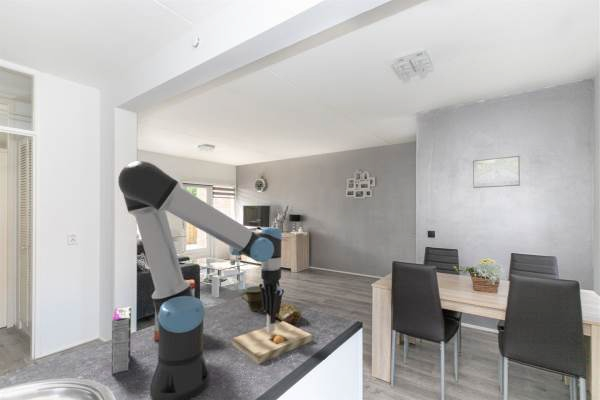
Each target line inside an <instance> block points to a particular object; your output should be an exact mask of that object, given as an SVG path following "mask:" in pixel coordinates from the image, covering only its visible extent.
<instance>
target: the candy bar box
mask: <svg viewBox="0 0 600 400" xmlns="http://www.w3.org/2000/svg"><path fill="white" fill-rule="evenodd" d="M111 324H112V328H111V329H112V331H111V336H112V337H111V339H112V340H111V375H116V374H119V373H123V372H124V373H125V372H128V371H130V369H131V345H132V344H131V338H132V337H131V336H132V333H131V332H132V331H131V330H132V329H131V328H132V306H125V307H118V308H114V312H113V316H112V323H111Z"/></svg>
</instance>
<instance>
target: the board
mask: <svg viewBox="0 0 600 400" xmlns="http://www.w3.org/2000/svg"><path fill="white" fill-rule="evenodd" d="M277 335H282V336H283V337H284V340H285V342H282V343H280V344H275V343H274V338H275V337H276V336H277ZM312 336H313V335H312V334H311V333H309V332H307V331H305V330H304V329H300V328H298V327H296V326H294V325H292V324H291V323H289V324H288V323H286V322H284V321H279V322H277V323H276V322H275V331H273V332H270V333H268V332H267V326H265V327H262V328H259V329H256V330H252V331H250V332H248V333H243V334H240V335H239V336H236V337H232V343H231V345H232V346H233V347H235V348H236V349H237V350H238V351H240V352H241V353H243V354H244V355H245V356H247V357H248V358H249V359H251V360H252V361H254V362H255V363H256V364H258V365H260V364H262V363H264V362H266V361H269V360H271V359H273V358H276V357H279V356H281V355H283V354H285V353H288V352H289V351H292V350H295V349H297V348H298V347H301V346H304V345H306V344H308V343H310V342H312V339H313V338H312Z"/></svg>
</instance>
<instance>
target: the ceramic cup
mask: <svg viewBox="0 0 600 400" xmlns="http://www.w3.org/2000/svg"><path fill="white" fill-rule="evenodd" d="M243 295H246V298H244V297H243ZM240 296H241V299H242V300H244V301H245V302H246V303H247V305H248V310H249V311H251V312H259V311H263V307H262V298H261V290H260V287H259V285H258V286H256V285H254V286H249V287H246V288H245V291H244V292H242V293H241V295H240Z"/></svg>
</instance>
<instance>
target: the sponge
mask: <svg viewBox="0 0 600 400" xmlns="http://www.w3.org/2000/svg"><path fill="white" fill-rule="evenodd" d="M263 312H264V313H265V314H266V312H265V310H263ZM275 318H277V319H279V320H280V322H282V321H284V322H286V323H288V324H292V323H293V324H297V323H299V322H300V319H301V318H302V312H301V311H300V309H299V308H298V307H296V306H295V305H293V304H291V303H287V302H284V301H281V306H280V312H279V314H276V315H275Z"/></svg>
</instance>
